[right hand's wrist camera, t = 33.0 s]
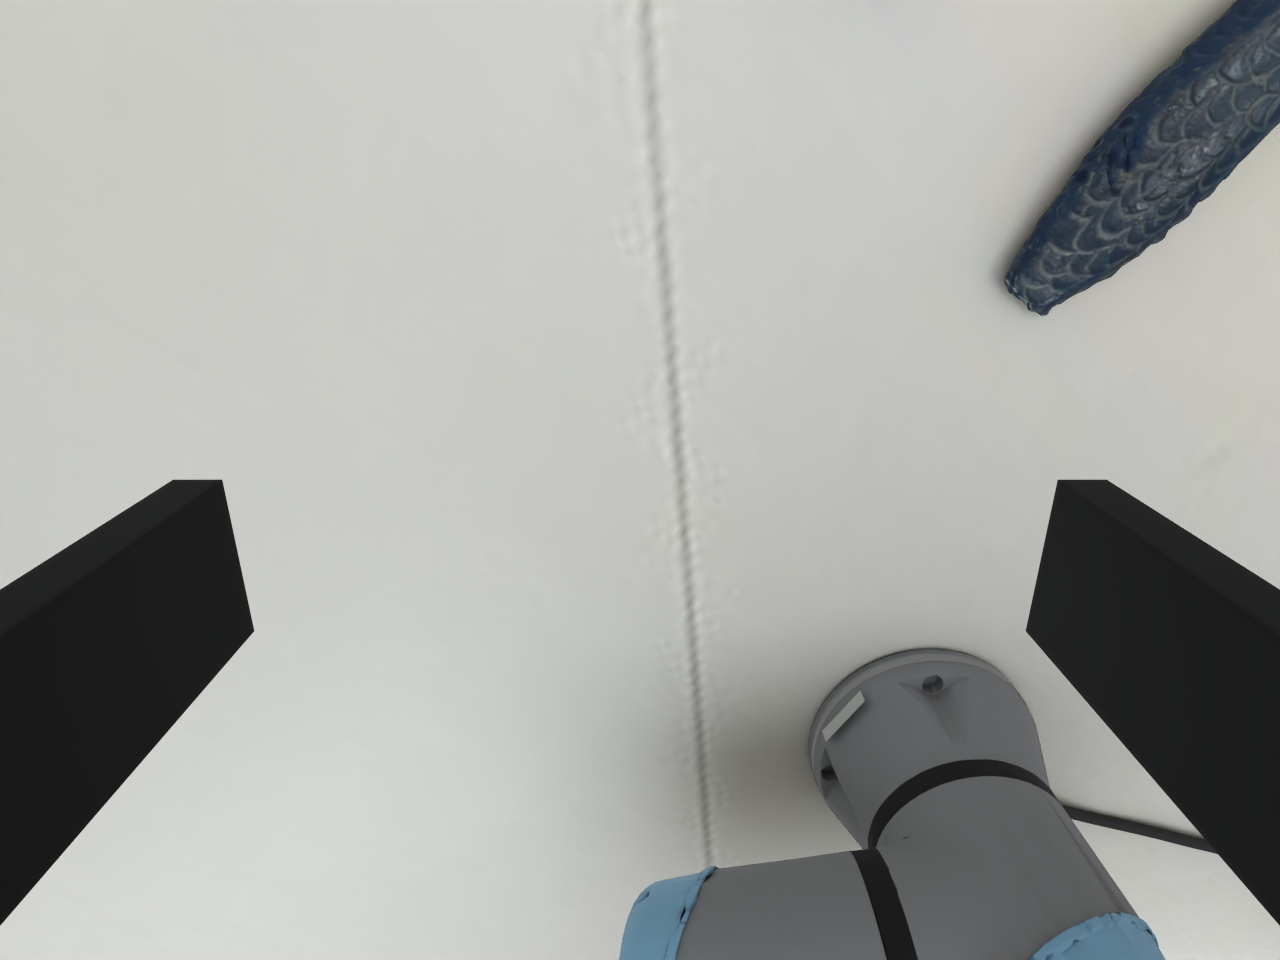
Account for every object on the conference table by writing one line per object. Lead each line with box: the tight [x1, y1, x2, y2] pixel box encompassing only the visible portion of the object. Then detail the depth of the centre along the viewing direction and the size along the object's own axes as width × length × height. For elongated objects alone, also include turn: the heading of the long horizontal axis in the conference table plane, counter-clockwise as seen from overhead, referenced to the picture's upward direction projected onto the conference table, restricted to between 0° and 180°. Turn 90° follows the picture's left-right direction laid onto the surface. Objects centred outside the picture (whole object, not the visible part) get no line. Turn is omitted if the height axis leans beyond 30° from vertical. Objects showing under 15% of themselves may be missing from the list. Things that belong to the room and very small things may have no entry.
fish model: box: [1004, 0, 1280, 316], centre depth 38 cm, size 7×21×5 cm, turn 143°
